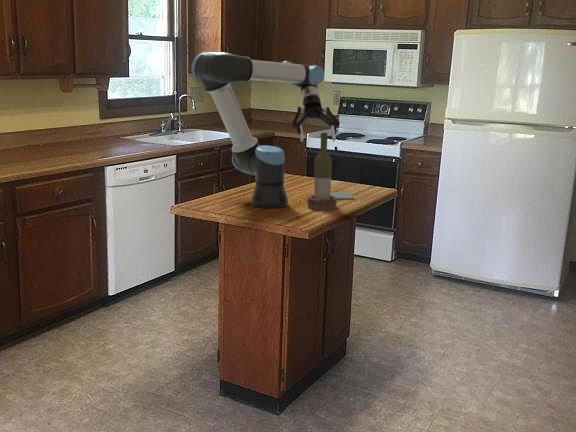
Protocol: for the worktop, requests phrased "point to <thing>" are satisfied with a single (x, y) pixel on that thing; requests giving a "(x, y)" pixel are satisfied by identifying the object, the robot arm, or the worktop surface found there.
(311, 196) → the ring stand
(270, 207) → the robot arm
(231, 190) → the worktop surface
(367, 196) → the worktop surface
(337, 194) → the mat
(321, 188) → the bottle
